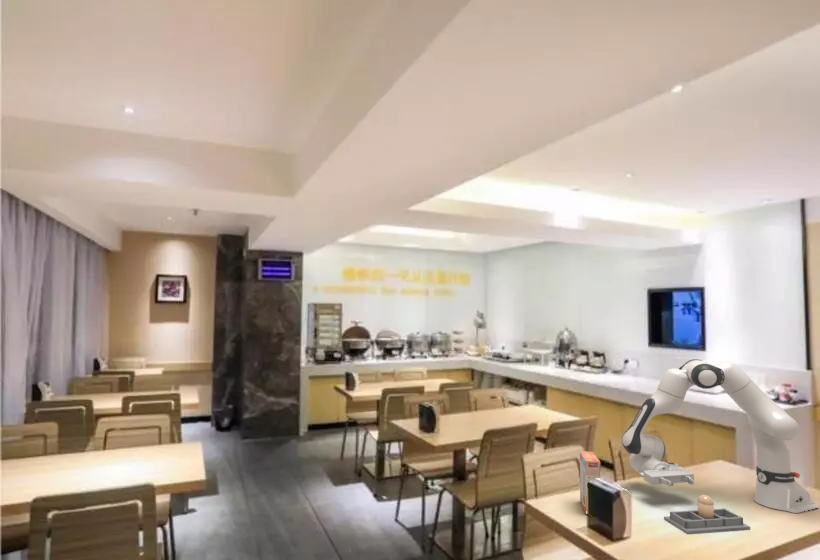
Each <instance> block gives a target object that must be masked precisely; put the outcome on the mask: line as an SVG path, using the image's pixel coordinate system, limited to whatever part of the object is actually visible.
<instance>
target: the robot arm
mask: <svg viewBox="0 0 820 560" xmlns="http://www.w3.org/2000/svg"><path fill="white" fill-rule="evenodd" d="M693 386H696V387H697V388H700V389H707V390H708V389H712V388H716V387H718V386H720V387H721V388H722V389H723V391H724V392H725V393H726V394H727V395H728V397H730V398H731V399H732V401H734V402H735V404H736V405H737V406H738V407H739V408H740V409H741V410H742V411H744V412H745V413H746V414H747V420H748V422H749V424H750V426H751V431H752V433H753V439H754V441H755V446H756V459H757V460H756V461H757V462H756V463H757V466H755V467H756V469H755V471H756V474H755V475H756V477H757V478H756V481H755V491H754V493H753V496H754V497H753V500H754V502H756V503H757V504H759V505H762V506H764V507H767V508H770V509H775V510H780V511H784V512H788V513H792V514H799V513H805V512H809V511H808V510H810V511H812V510H811V509H815V508H819V505H818V504H816V503H815V502H813V501H811V495H810V493H809V491H808V490H807V489H806V488H804V487H803V486H802V485H801V484H799V482H797V481H796V480H795V478H797V479H800V478H801V474H800V473H799V472H795V471H791V454H790V450H789V449H788V447H787V444H786V442H785V441H791V440H794V439H796V438H797V437H798V435H799V433H800V426H799V424H798V422H797V421H796V420H795V419H794V418H793V417H792V416H791V415H789V413H787V412H786V411H785V410H784V409H783V408H782V407H781V406H780V405H778V404H777V403H776V402H775V401H774V400H772V398H770V397H769V396H768V395H767V394H766V393H765V392H764V391H763V390H762V389H761V388H760V386H758V385H757V384H756V383H755V382H754V380H753V379H751V377H750V376H749V375H748V374H747V373H746V372H745V371H744V370H742V369H741V368H740V367H739V366H738V365H737V364H735V363H733V362H731V361H723V362H719V363H718V364H716V365H713V364H711V363H708V362H707V361H704V360H701V359H693V358H692V359H690V360H688V361H686V362H685V363H683V365H681V366H680V367H679V368H674V367H673V368H669V369H667V370H666V371H665V373H663V376H662V377H661V379H660V381H659V384H658V386H657V388H656V390H655V392H654V394H652V395H651V397H650V398H647V399H645V401H644V402H643V403H642V405H641V407H640V408H639V410H638V412H637V413H636V415H635V416H634V419H633V421H632V422H631V424H630V425H629V427H628V428H627V430H626V431H625V432H624V433H623V435H622V436H621V445H622V446H623V448H624V449H625V451H626V452H627V453H628V454H630V456H629V464H630V466H631V468H632V469H633V470H634V471H635V472H637V473H638V475H639V476H640V477H641V478H643V480H644V481H646V482H647V483H648V484H650V485H665V486H666V485H667V486H669V487H672V486H673V487H674V484H683V483H687V484H688V485H695V474H694V472H693V471H691V470H690V469H687V468H686V467H682V466H679V464H678V463H676V462H675V463H674V462H667V461H663V459H664V458H665V454H666V445H665V442H664V441H663V439H662V438H661V437H658V436H655V435H651V434H647V433H644V431H645V429H646V428H647V426H648V424H649V422H650V421H651V419H652V418H654V417H655V416H658V415H664V414H671V413H675V412H677V411H679V409H680V408H681V407H682V405H683V403H684V400H685V398H686V395H687V393H688V391H689V389H690V388H691V387H693ZM815 510H816V509H815ZM804 511H805V512H804Z"/></svg>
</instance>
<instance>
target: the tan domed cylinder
mask: <svg viewBox="0 0 820 560" xmlns="http://www.w3.org/2000/svg"><path fill="white" fill-rule="evenodd" d="M714 503H715V502H714V500H713V498H712V497H711V496H709V495H706V494H702V495H699V496H698V497H697V510H698V516H700V517H702V518H704V519H714V509H715V504H714Z"/></svg>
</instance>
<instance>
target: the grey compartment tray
mask: <svg viewBox="0 0 820 560" xmlns="http://www.w3.org/2000/svg"><path fill="white" fill-rule="evenodd" d="M663 520H664V521H666V522H667V523H669V524H670V525H672V526H674V528H677V529H678V530H680V531H681V532H683V533H685V534H686V535H693V534H708V533H709V534H710V533H721V532H735V531H736V532H738V531H749V530H751V526H749V525H748V524H746V523H745V522H744V518H743V517H742V516H740V515H738V514H736V513H734V512H732V511H731V510H729V509H727V508H714V519H704V518H702V517H700V516H698V509H696V510H695V509H694V510H680V511H679V510H678V511H676V510H675V511H669V516H664V517H663Z"/></svg>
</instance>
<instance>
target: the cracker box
mask: <svg viewBox="0 0 820 560" xmlns="http://www.w3.org/2000/svg"><path fill="white" fill-rule="evenodd" d="M579 463H580V464H579V471H580V473H579V474H580V476H579V478H580V479H579V480H580V481H579V484H580V485H579V487H580V488H579V493H580V494H579V496H580V497H579V498H580V499H579V501H581V502H580V504H581V507H582V506H583V507H582V509H583V508H584V509H583V512H584V513H586V511H587V483H588V481H590V480H592V479H595V478H600V479H601V461H600V459H599V458H598V456H597V455H596V453H595V452H594V451H585V450H584V451H583V450H580V451H579Z"/></svg>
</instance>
